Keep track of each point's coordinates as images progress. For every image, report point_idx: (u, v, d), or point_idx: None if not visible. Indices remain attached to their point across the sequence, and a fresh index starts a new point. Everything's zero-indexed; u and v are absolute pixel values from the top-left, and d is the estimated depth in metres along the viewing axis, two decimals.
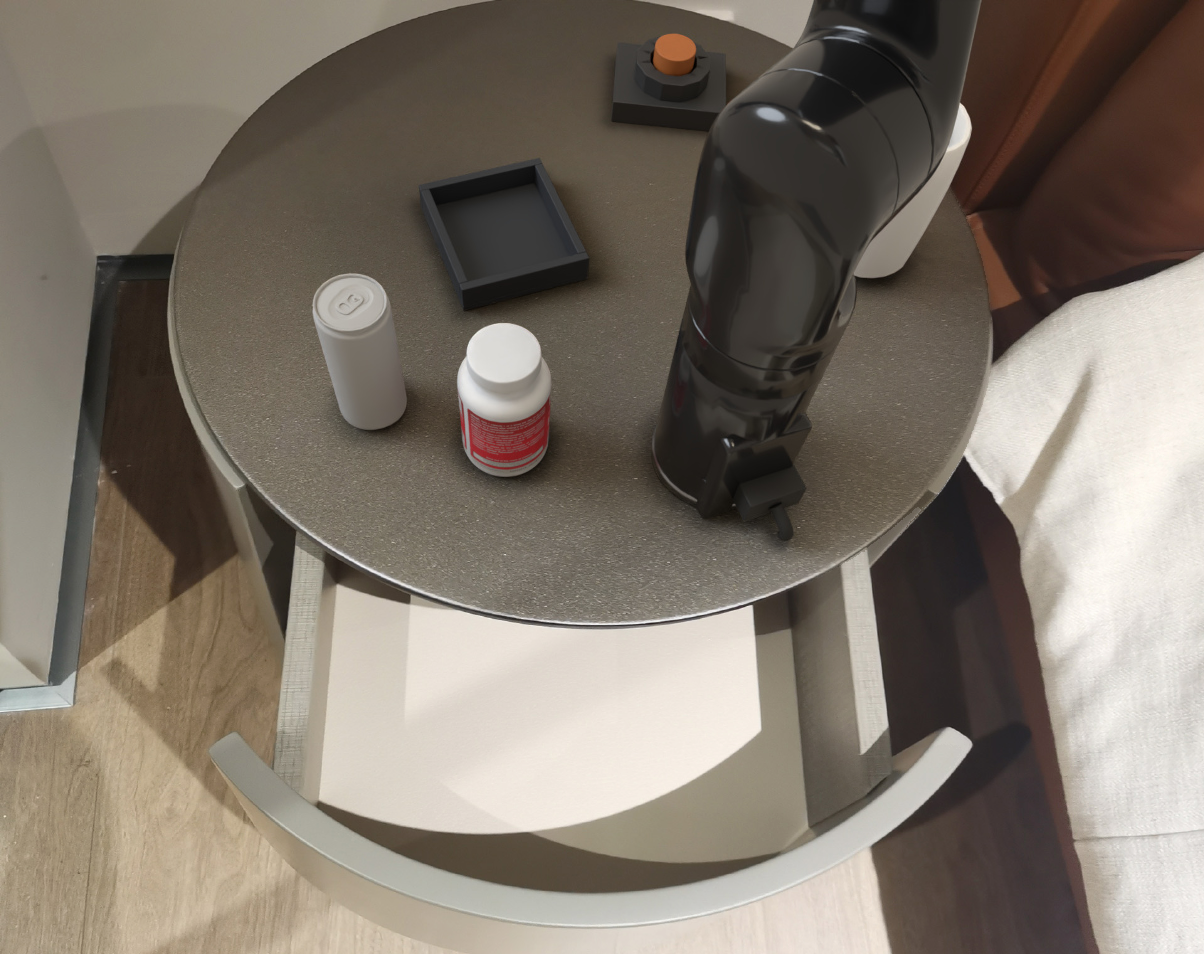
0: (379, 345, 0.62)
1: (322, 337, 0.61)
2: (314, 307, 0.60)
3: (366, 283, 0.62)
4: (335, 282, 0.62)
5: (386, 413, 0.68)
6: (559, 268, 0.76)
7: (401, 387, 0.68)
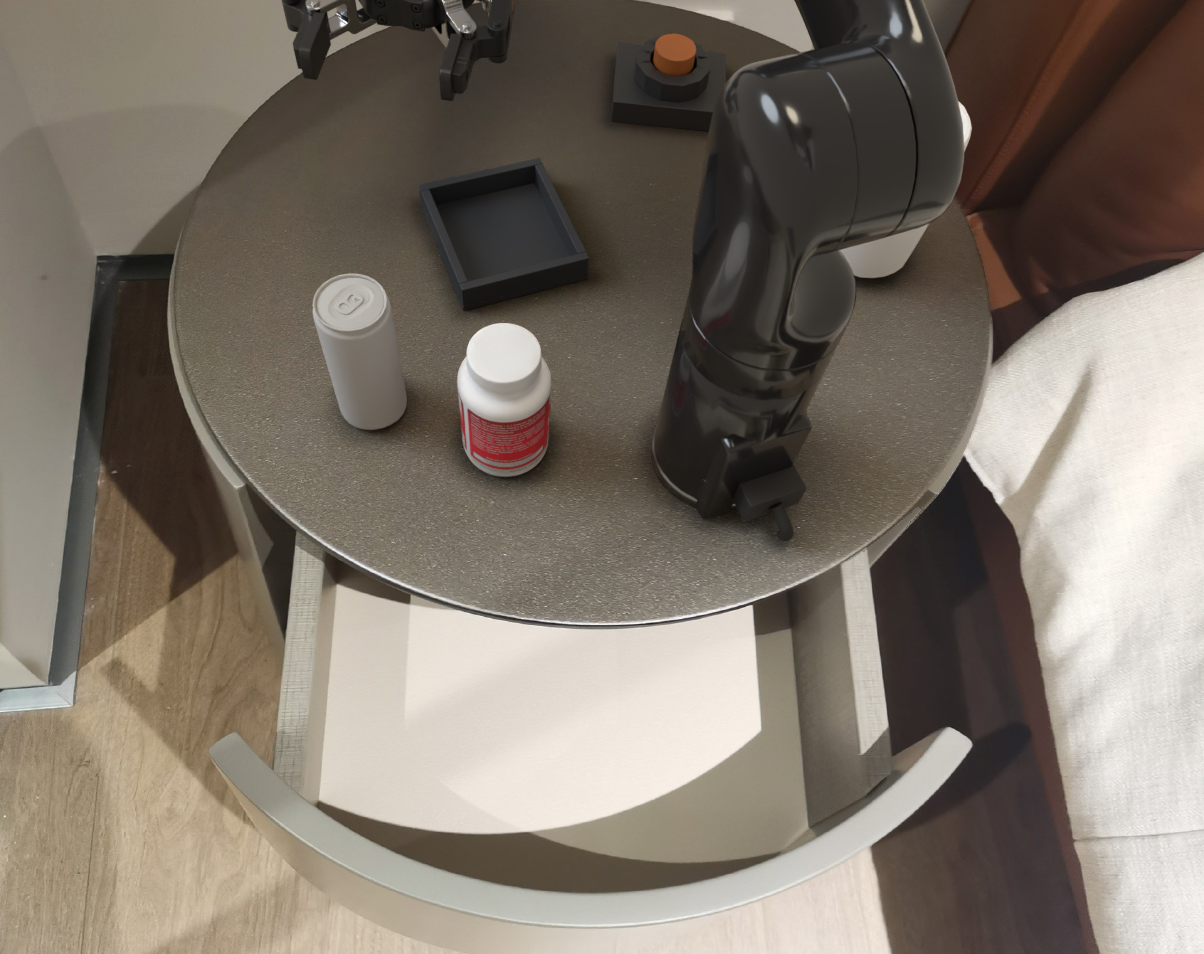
0: (379, 345, 0.62)
1: (322, 337, 0.61)
2: (314, 307, 0.60)
3: (366, 283, 0.62)
4: (335, 282, 0.62)
5: (386, 413, 0.68)
6: (559, 268, 0.76)
7: (401, 387, 0.68)
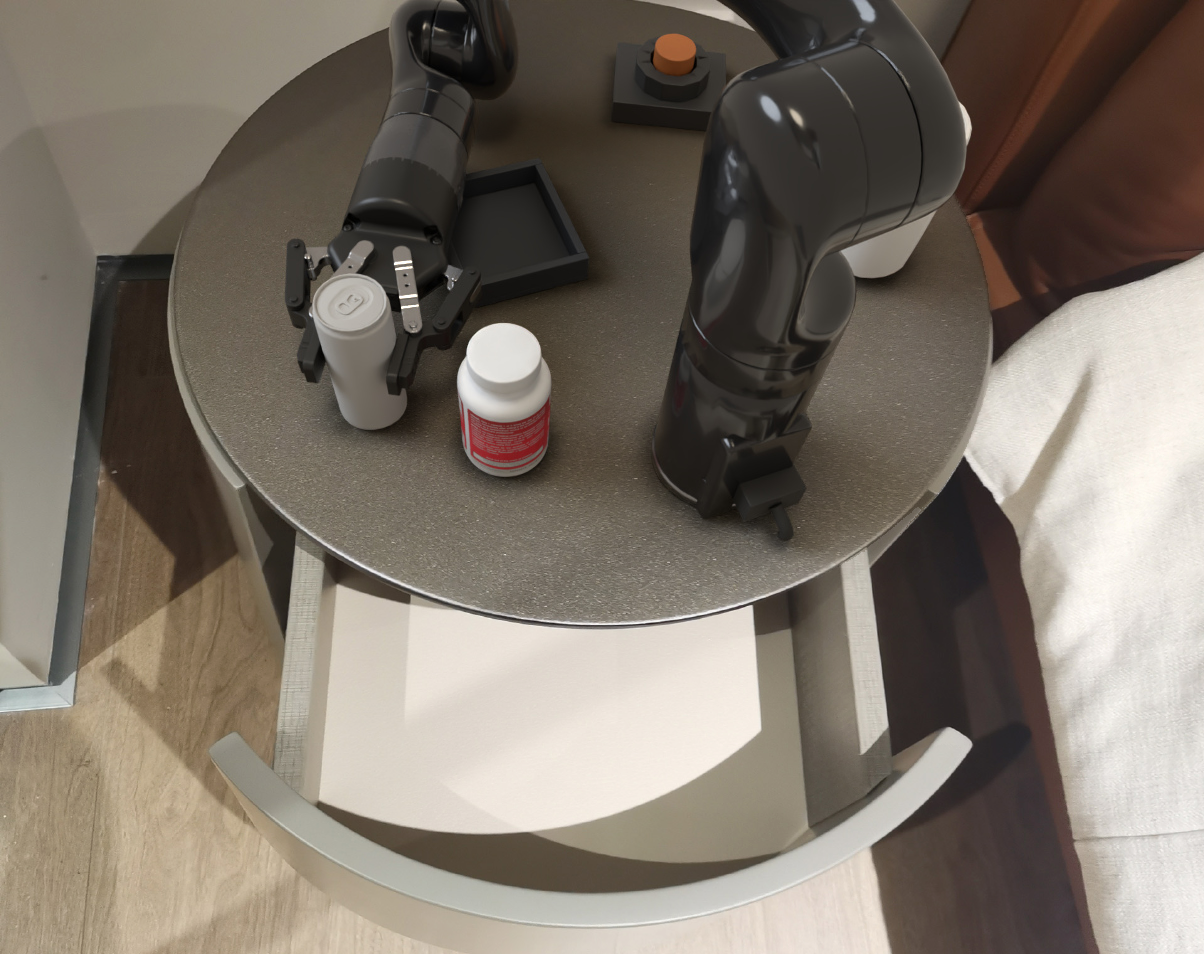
0: (379, 346, 0.62)
1: (322, 337, 0.61)
2: (314, 307, 0.60)
3: (366, 283, 0.62)
4: (335, 282, 0.62)
5: (386, 413, 0.68)
6: (559, 268, 0.76)
7: None
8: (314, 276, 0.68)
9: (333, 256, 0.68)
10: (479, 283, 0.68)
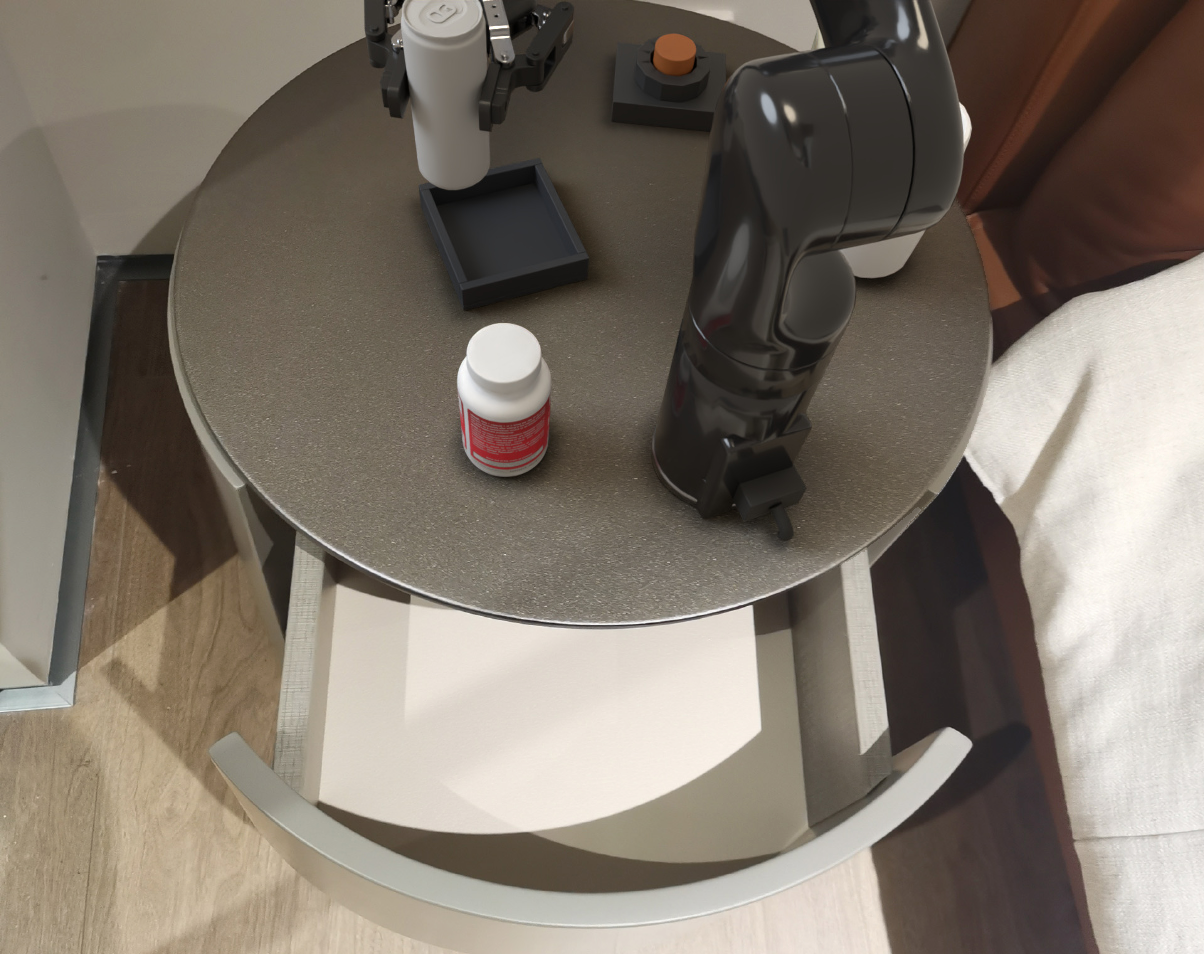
0: (472, 65, 0.57)
1: (411, 52, 0.56)
2: (404, 14, 0.55)
3: None
4: None
5: (471, 166, 0.63)
6: (559, 268, 0.76)
7: (487, 136, 0.63)
8: (392, 15, 0.63)
9: None
10: (572, 22, 0.63)
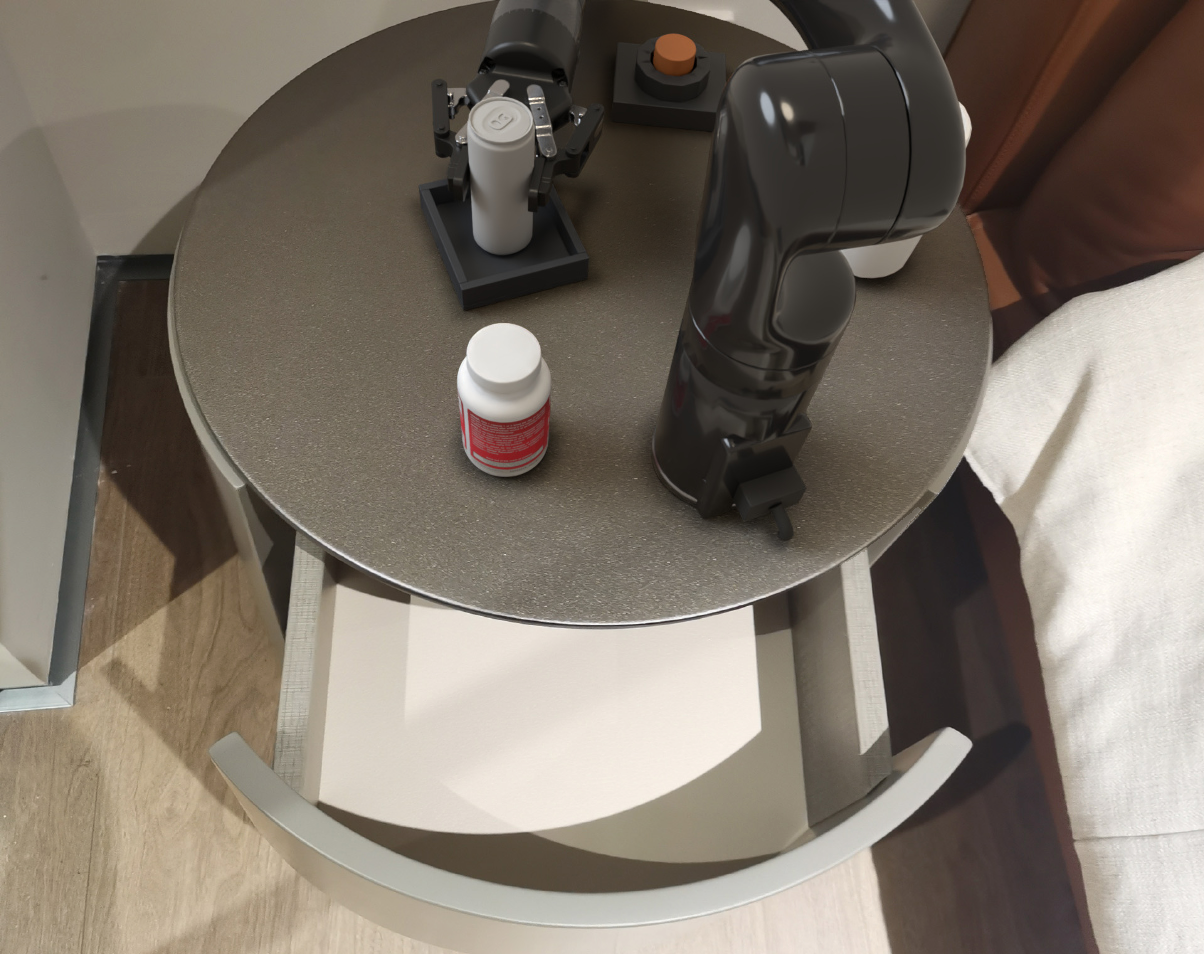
0: (524, 161, 0.70)
1: (475, 152, 0.69)
2: (470, 123, 0.68)
3: (513, 105, 0.70)
4: (486, 104, 0.70)
5: (518, 236, 0.77)
6: (559, 268, 0.76)
7: (532, 213, 0.76)
8: (454, 113, 0.76)
9: (472, 94, 0.76)
10: (602, 120, 0.76)
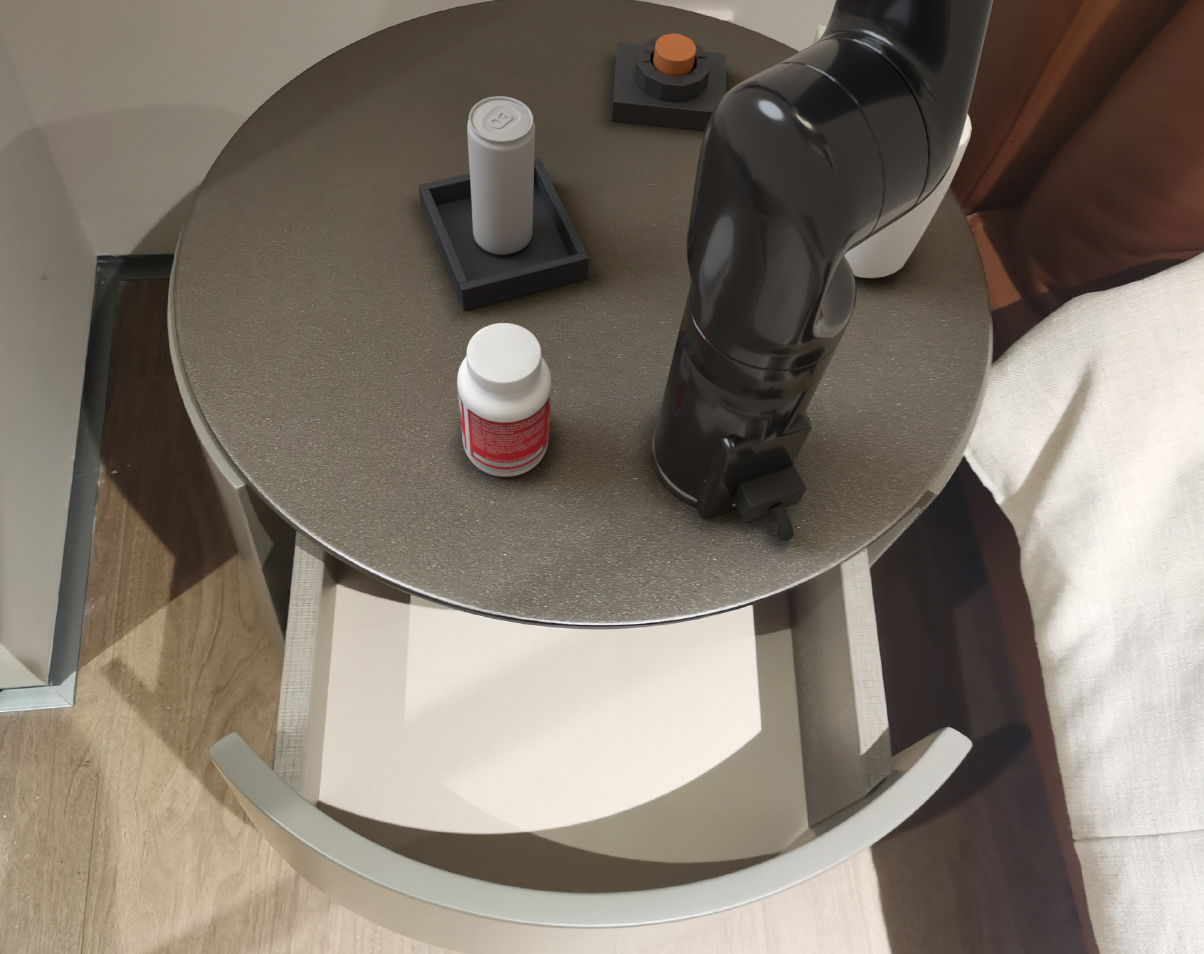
0: (524, 160, 0.70)
1: (475, 151, 0.69)
2: (470, 122, 0.68)
3: (513, 105, 0.70)
4: (486, 103, 0.70)
5: (518, 236, 0.77)
6: (559, 268, 0.76)
7: (532, 213, 0.76)
8: None
9: None
10: None
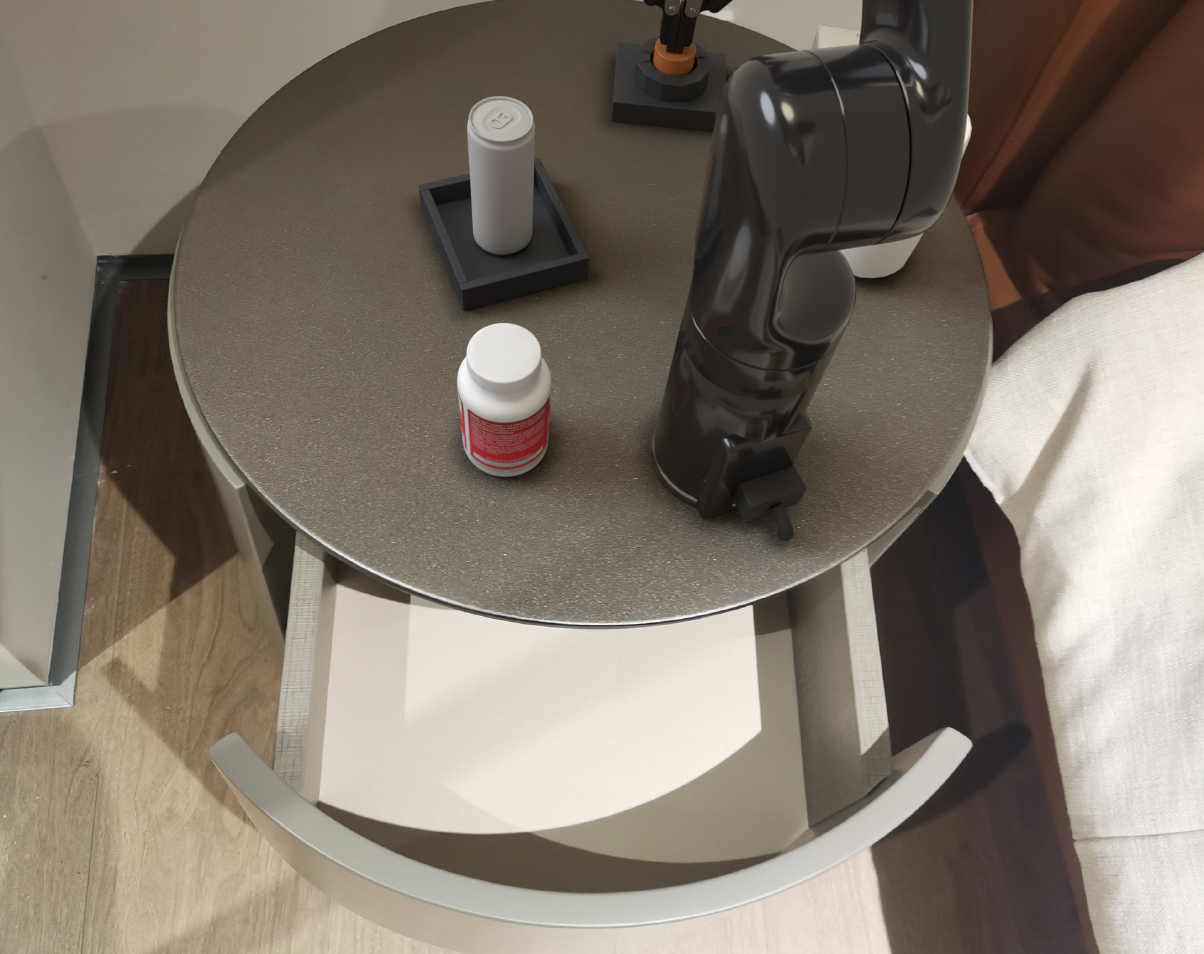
0: (524, 160, 0.70)
1: (475, 151, 0.69)
2: (470, 122, 0.68)
3: (513, 105, 0.70)
4: (486, 103, 0.70)
5: (518, 236, 0.77)
6: (559, 268, 0.76)
7: (532, 213, 0.76)
8: None
9: None
10: None
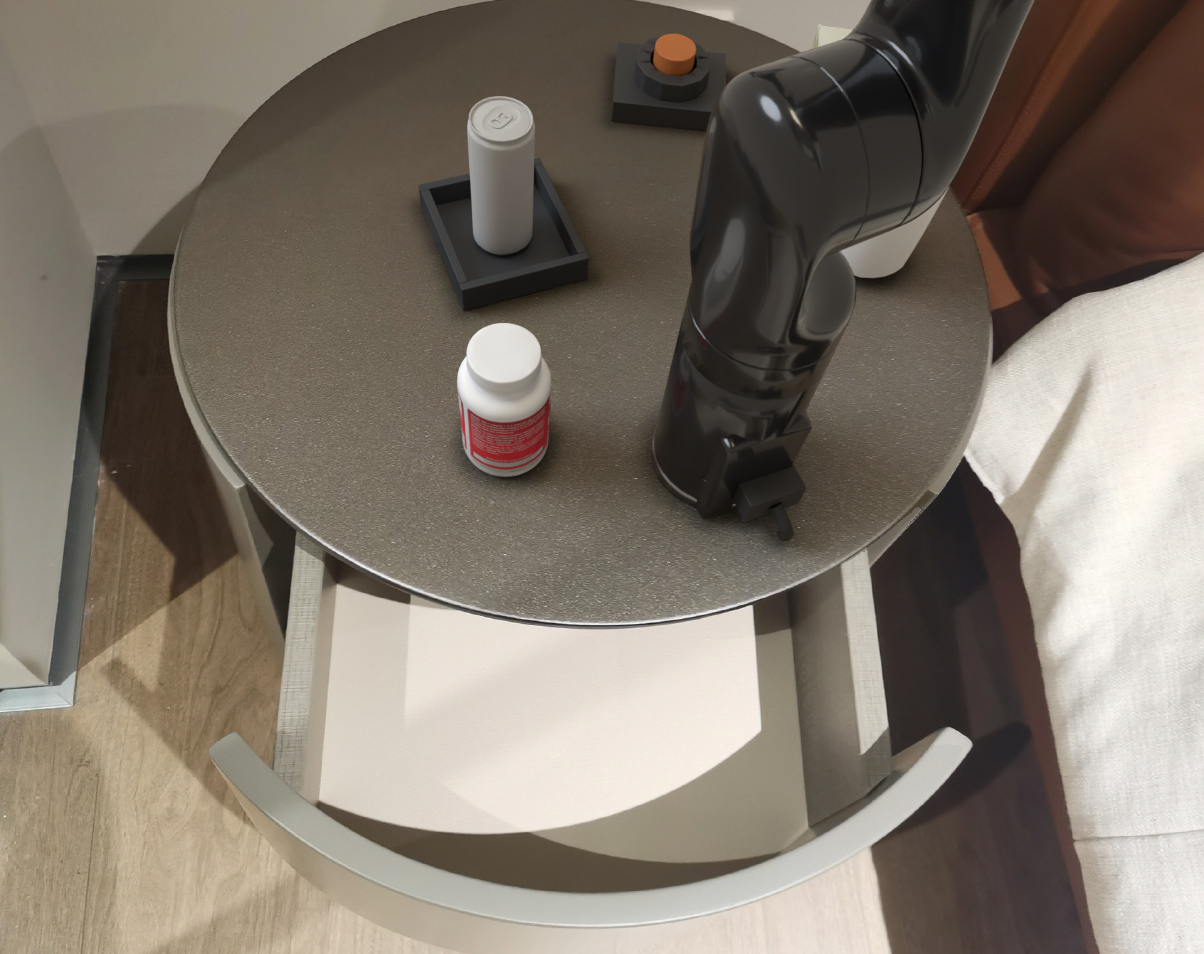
0: (524, 160, 0.70)
1: (475, 151, 0.69)
2: (470, 122, 0.68)
3: (513, 105, 0.70)
4: (486, 103, 0.70)
5: (518, 236, 0.77)
6: (559, 268, 0.76)
7: (532, 213, 0.76)
8: None
9: None
10: None
